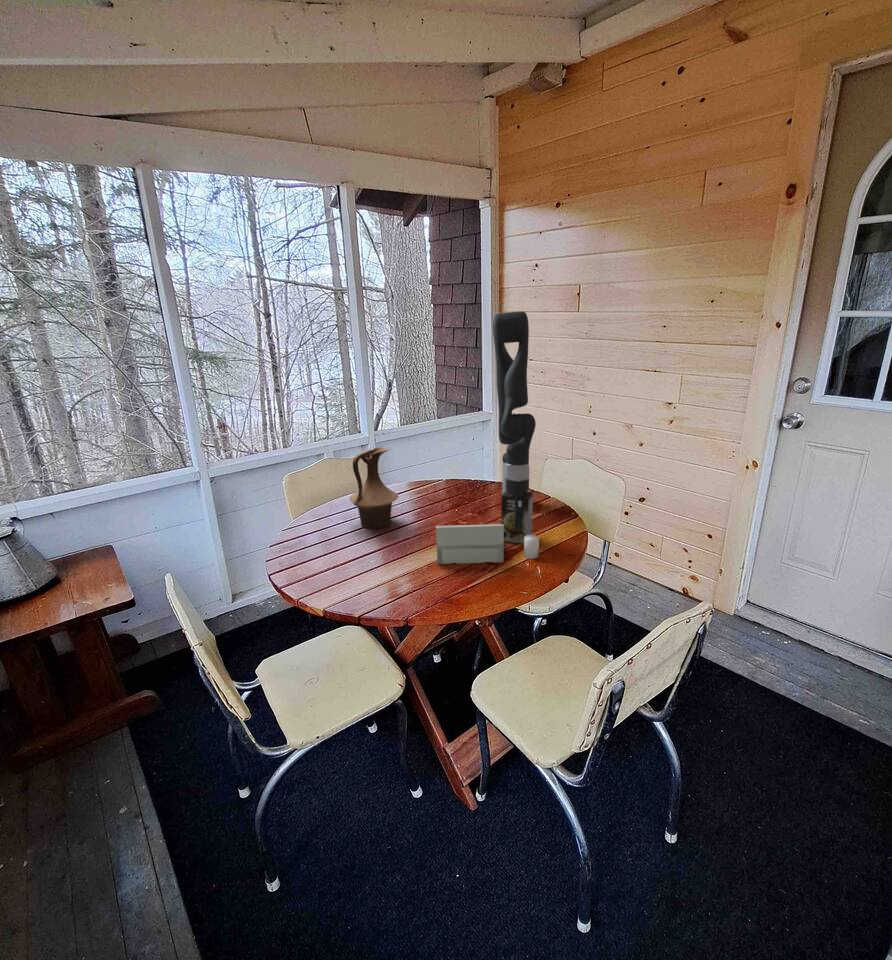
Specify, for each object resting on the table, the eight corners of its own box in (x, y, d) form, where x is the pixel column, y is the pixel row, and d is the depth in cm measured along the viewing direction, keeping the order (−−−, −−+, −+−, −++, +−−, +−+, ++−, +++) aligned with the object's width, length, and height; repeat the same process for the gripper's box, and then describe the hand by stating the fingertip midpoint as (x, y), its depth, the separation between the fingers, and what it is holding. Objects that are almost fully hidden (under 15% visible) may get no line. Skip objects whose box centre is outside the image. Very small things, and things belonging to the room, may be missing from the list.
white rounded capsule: (523, 552, 161) (523, 534, 159) (537, 552, 161) (537, 534, 159) (525, 558, 157) (525, 541, 155) (539, 558, 157) (540, 540, 155)
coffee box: (500, 541, 169) (500, 495, 164) (505, 533, 175) (506, 488, 169) (527, 545, 166) (528, 498, 160) (532, 537, 171) (533, 491, 166)
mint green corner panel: (438, 543, 169) (436, 509, 165) (499, 542, 168) (499, 508, 165) (437, 564, 155) (435, 527, 152) (503, 562, 155) (503, 525, 151)
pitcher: (375, 537, 174) (368, 458, 165) (341, 526, 184) (333, 451, 175) (409, 520, 188) (404, 446, 179) (375, 511, 198) (370, 440, 189)
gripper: (503, 469, 170) (503, 515, 175) (507, 483, 156) (507, 532, 161) (526, 469, 170) (525, 514, 175) (532, 483, 156) (531, 532, 161)
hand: (516, 523), depth 168 cm, fingers closed on coffee box, 8 cm apart
